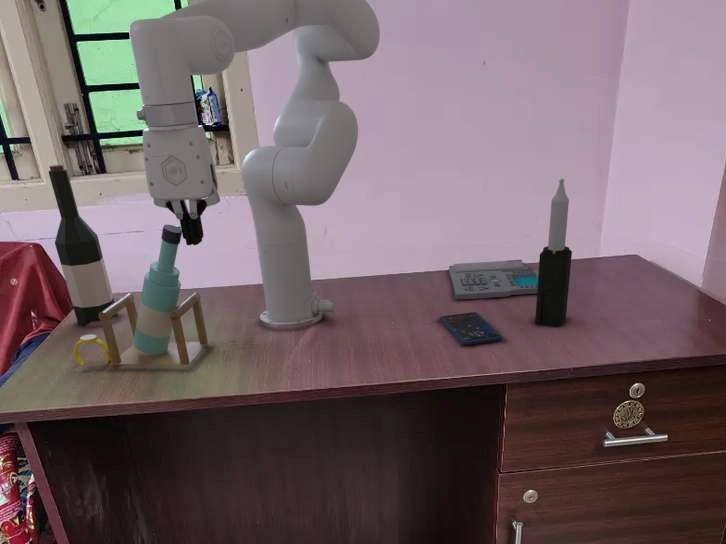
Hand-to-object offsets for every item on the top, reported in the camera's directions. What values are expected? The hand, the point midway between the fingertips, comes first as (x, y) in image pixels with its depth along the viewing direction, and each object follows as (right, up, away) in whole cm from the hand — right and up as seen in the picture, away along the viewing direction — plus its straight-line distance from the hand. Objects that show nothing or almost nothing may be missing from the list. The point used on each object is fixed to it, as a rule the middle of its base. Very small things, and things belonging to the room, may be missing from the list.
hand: (194, 243), depth 117 cm
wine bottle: (-29, -5, +33) cm, 44 cm away
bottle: (-6, -16, +11) cm, 20 cm away
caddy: (-9, -17, +13) cm, 23 cm away
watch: (-20, -19, +10) cm, 29 cm away
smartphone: (+47, -11, +16) cm, 51 cm away
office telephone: (+57, +6, +41) cm, 70 cm away
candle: (+63, -9, +18) cm, 66 cm away
